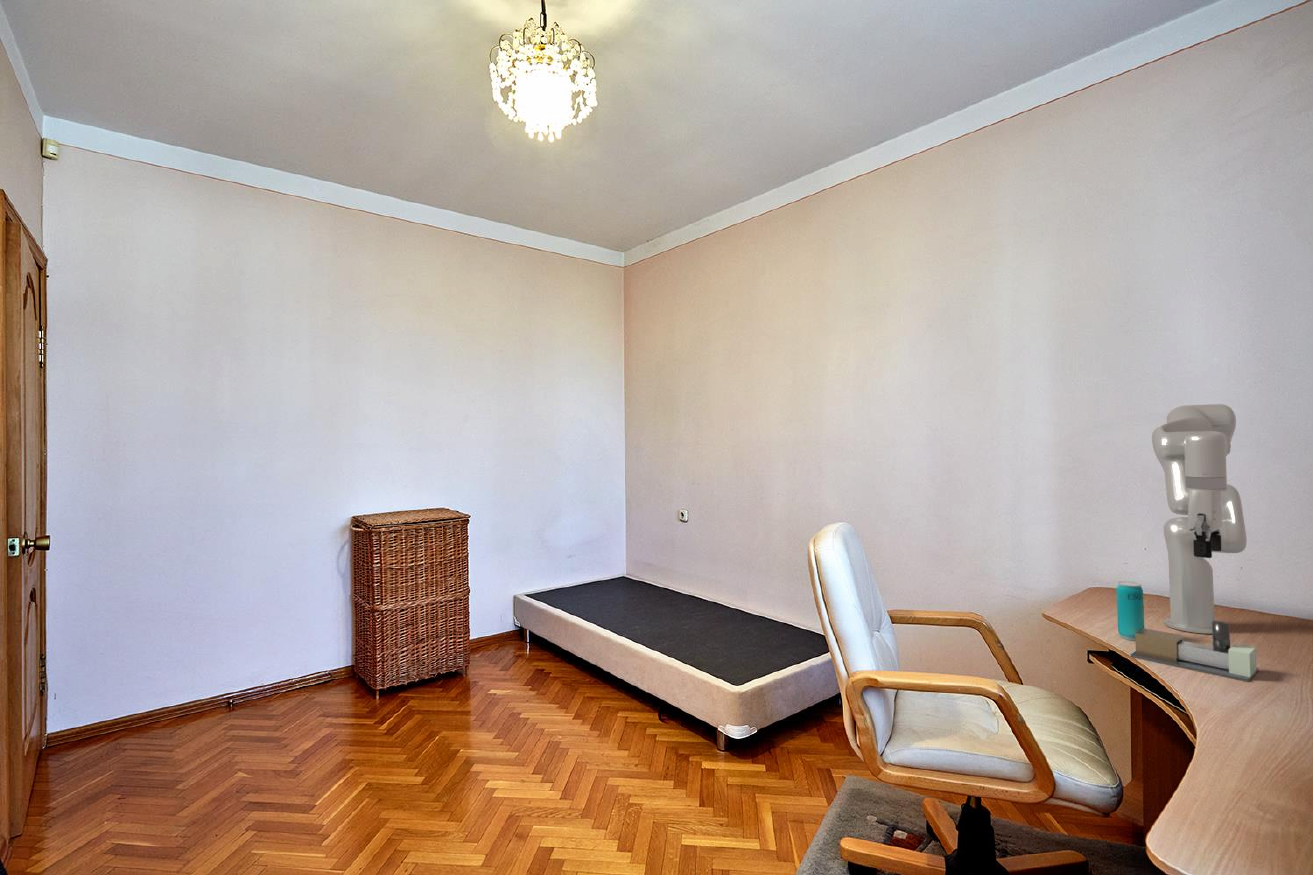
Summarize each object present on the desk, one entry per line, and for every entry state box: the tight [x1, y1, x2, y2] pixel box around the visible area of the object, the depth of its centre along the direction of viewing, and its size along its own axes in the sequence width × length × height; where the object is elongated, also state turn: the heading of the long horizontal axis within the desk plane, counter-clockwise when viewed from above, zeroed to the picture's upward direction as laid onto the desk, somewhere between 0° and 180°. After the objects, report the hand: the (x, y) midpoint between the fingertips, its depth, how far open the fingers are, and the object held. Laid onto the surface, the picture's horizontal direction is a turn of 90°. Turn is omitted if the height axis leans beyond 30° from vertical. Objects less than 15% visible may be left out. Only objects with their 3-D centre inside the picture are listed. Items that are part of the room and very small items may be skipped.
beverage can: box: [1116, 581, 1145, 642], centre depth 167 cm, size 6×6×15 cm
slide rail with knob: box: [1130, 627, 1259, 683], centre depth 148 cm, size 11×22×6 cm, turn 37°
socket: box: [1228, 643, 1258, 677], centre depth 141 cm, size 7×4×5 cm, turn 127°
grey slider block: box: [1177, 620, 1231, 669], centre depth 146 cm, size 4×14×10 cm, turn 37°
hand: (1207, 553), depth 149 cm, fingers open, 9 cm apart
